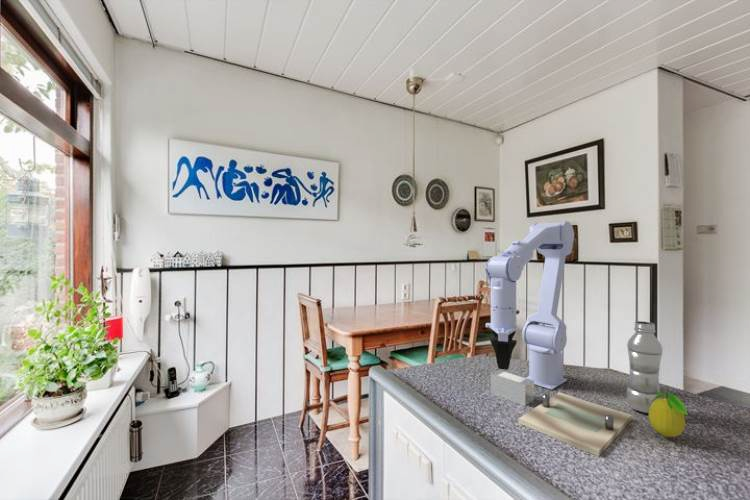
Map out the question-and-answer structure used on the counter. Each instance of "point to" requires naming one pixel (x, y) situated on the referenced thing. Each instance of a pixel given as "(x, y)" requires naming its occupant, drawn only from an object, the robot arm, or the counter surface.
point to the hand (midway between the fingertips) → (503, 363)
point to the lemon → (667, 415)
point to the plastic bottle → (643, 367)
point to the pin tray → (576, 422)
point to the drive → (512, 387)
